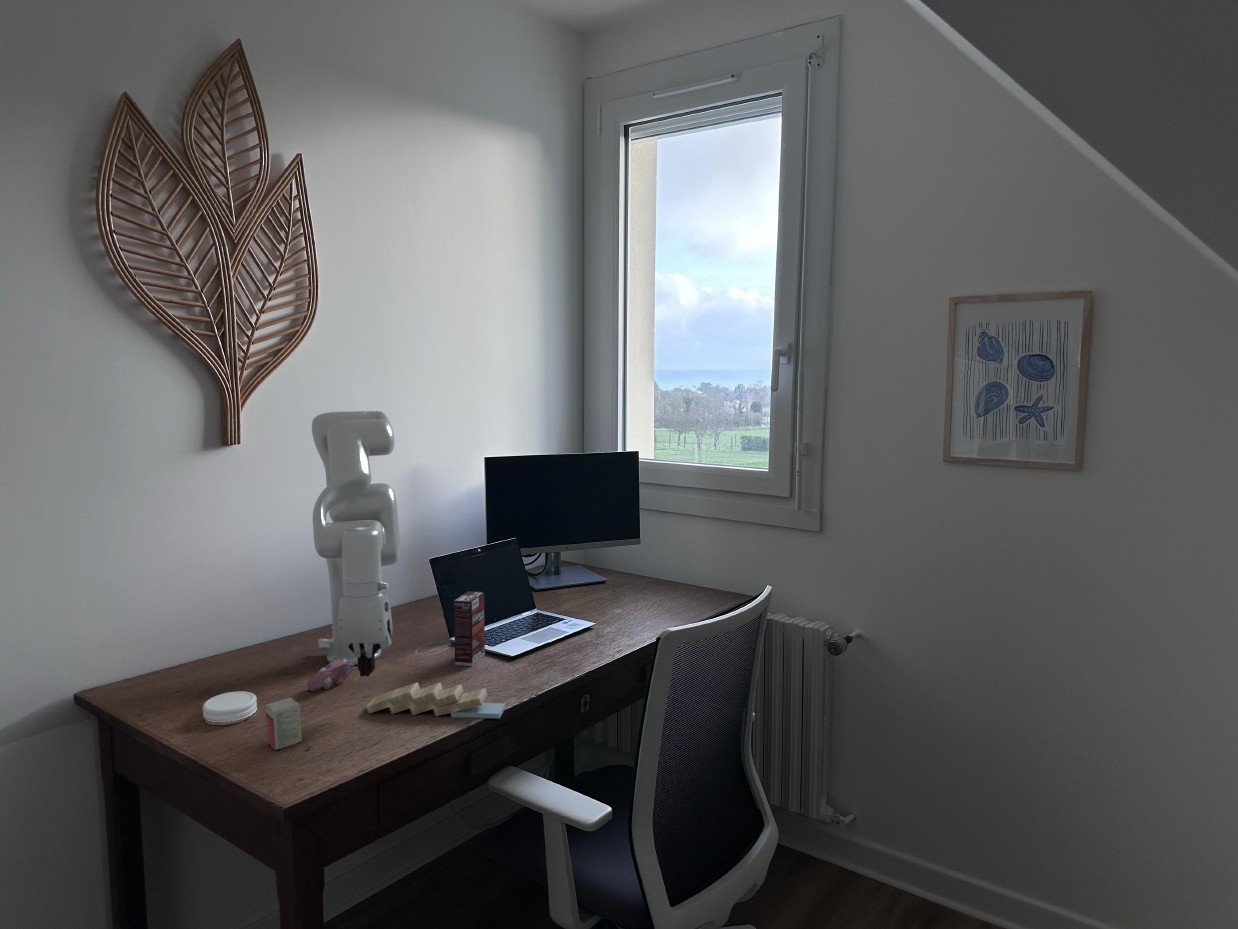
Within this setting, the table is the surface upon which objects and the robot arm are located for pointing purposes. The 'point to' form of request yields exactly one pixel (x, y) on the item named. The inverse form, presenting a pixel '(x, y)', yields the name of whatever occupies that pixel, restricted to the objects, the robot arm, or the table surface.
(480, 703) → the domino
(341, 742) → the table surface
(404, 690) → the domino
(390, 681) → the table surface
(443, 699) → the domino
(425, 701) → the domino
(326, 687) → the pink toy car
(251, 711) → the white round lid
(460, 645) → the supplement box
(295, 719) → the small box
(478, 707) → the end domino
